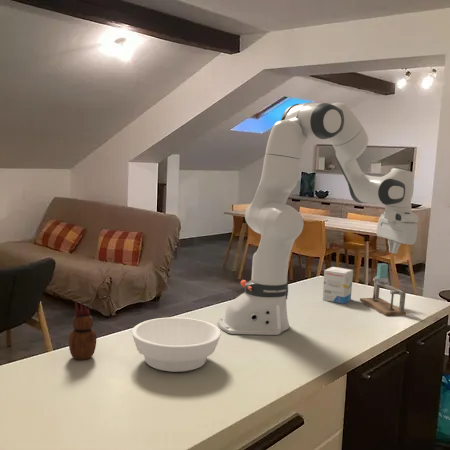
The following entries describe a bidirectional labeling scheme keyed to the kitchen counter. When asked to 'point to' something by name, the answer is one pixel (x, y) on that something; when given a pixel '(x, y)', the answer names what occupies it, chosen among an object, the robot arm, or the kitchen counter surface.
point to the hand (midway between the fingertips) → (393, 252)
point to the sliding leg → (380, 275)
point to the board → (383, 305)
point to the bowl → (176, 342)
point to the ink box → (337, 284)
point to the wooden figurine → (82, 334)
